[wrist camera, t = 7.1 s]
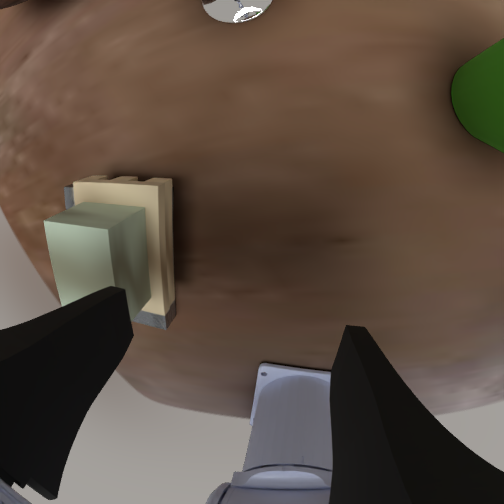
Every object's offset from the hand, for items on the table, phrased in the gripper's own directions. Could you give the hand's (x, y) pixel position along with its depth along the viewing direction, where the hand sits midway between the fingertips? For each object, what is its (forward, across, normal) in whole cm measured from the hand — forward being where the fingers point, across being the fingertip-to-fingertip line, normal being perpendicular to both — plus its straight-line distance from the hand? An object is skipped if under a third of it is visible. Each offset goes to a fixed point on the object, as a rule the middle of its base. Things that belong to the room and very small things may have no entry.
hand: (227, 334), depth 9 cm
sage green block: (+8, +8, +1) cm, 12 cm away
